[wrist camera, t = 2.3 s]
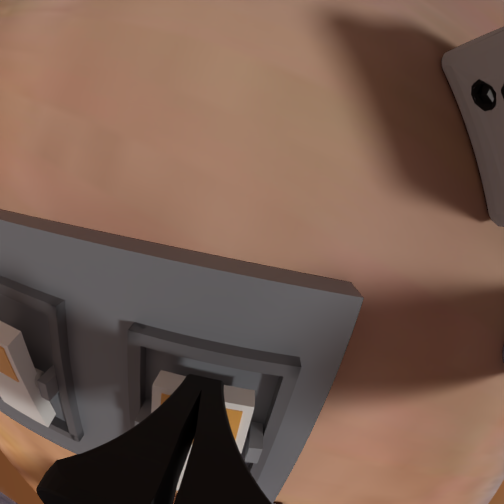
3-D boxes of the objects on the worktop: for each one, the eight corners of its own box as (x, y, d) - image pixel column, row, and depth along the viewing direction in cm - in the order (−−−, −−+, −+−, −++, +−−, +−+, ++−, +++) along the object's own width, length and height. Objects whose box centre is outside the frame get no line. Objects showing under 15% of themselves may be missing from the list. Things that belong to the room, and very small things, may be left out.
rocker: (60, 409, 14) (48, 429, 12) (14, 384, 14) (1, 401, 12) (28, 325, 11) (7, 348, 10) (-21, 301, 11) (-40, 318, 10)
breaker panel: (272, 483, 17) (272, 523, 14) (12, 398, 17) (-11, 422, 13) (351, 282, 14) (378, 316, 10) (-15, 205, 13) (-57, 214, 10)
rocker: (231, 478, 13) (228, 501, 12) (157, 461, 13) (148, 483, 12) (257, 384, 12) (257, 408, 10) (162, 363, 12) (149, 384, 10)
